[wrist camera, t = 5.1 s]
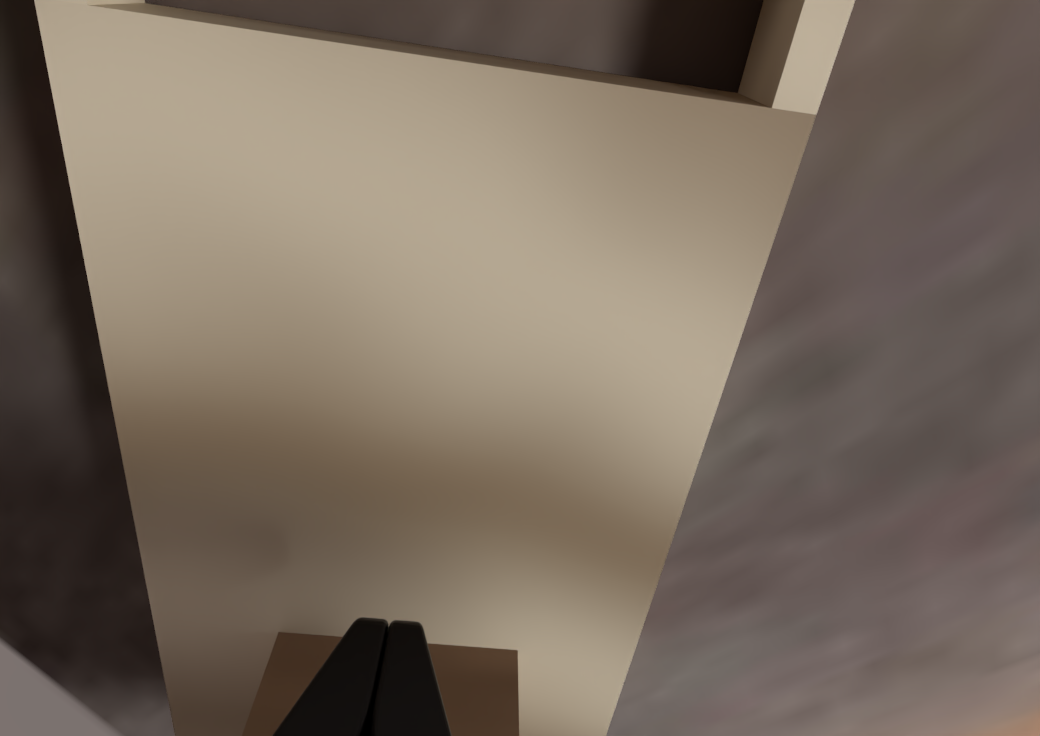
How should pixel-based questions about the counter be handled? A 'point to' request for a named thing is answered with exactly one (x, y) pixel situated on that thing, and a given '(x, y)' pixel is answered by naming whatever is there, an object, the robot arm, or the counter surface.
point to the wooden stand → (413, 338)
